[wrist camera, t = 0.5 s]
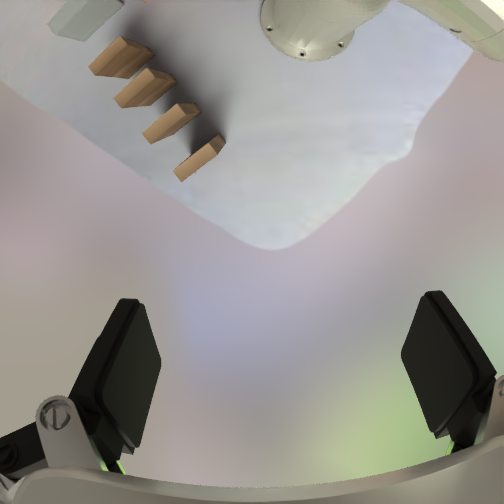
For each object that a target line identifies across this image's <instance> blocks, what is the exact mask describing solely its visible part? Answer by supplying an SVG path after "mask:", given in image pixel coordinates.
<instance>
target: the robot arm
mask: <svg viewBox="0 0 504 504" xmlns="http://www.w3.org/2000/svg"><path fill="white" fill-rule="evenodd" d="M397 1H399V2H401V3H402V4H404V5H407V6H410V7H411V8H413V9H415V10H417V11H418V12H420V13H421V14H423V15H425V16H426V17H428V18H429V19H431V20H432V21H434V22H435V23H437V24H438V25H440V26H441V27H443V28H444V29H446V30H447V31H449V32H450V33H451V34H453V35H454V36H456V37H457V38H458V39H460V40H461V41H462V42H464V43H465V44H466V45H468V46H469V47H470V48H472V49H473V50H475V51H476V52H478V53H479V54H481V55H483V56H485V57H487V58H489V59H491V60H495V61H498V62H504V0H397ZM389 2H390V0H265V1H264V2H263V5H262V9H261V25H262V29H263V31H264V33H265V35H266V37H267V38H268V40H269V41H270V42H271V44H272V45H274V46H275V47H276V48H277V49H278V50H279V51H281V52H283V53H284V54H286V55H288V56H290V57H293V58H295V59H299V60H303V61H322V60H326V59H329V58H332V57H334V56H336V55H338V54H339V53H341V52H342V51H343V50H345V49H346V48H347V46H348V45H349V44H350V42H351V40H352V38H353V35H354V30H355V29H356V28H358V27H359V26H361V25H362V24H364V23H366V22H367V21H369V20H370V19H372V18H373V17H375V16H376V15H378V14H379V13H381V12H382V11H383V10H384V9H385V8H386V7H387V5H388V4H389ZM267 29H271V31H268V30H267ZM338 44H340V45H341V47H339V46H338ZM300 53H303V54H304V56H301V55H300ZM401 359H402V361H403V364H404V366H405V368H406V371H407V373H408V375H409V378H410V381H411V383H412V385H413V388H414V390H415V393H416V395H417V398H418V401H419V403H420V406H421V408H422V411H423V414H424V417H425V419H426V422H427V425H428V427H429V430H430V431H431V432H434V435H435V438H436V439H438V438H441V437H444V436H447V435H449V434H450V437H451V441H450V444H449V446H448V449H447V451H446V454H445V456H443V457H440V458H437V459H434V460H431V461H428V462H425V463H422V464H418V465H415V466H411V467H407V468H404V469H400V470H396V471H392V472H387V473H383V474H378V475H374V476H369V477H364V478H359V479H353V480H347V481H340V482H333V483H325V484H316V485H305V486H292V487H270V488H233V487H213V486H201V485H200V486H199V485H190V484H181V483H173V482H166V481H159V480H152V479H146V478H140V477H135V476H130V475H127V474H126V472H125V471H124V469H123V467H122V465H121V463H120V462H119V460H120V456H121V452H122V453H127V454H132V455H133V453H134V449H135V448H137V447H139V446H140V443H141V439H142V435H143V431H144V427H145V423H146V419H147V416H148V412H149V408H150V405H151V401H152V397H153V393H154V390H155V386H156V383H157V379H158V376H159V372H160V369H161V358H160V355H159V352H158V349H157V345H156V342H155V339H154V336H153V333H152V330H151V326H150V323H149V320H148V317H147V313H146V310H145V306H144V304H142V303H139V301H138V300H137V299H125V298H123V299H120V300H119V302H118V303H117V305H116V307H115V309H114V311H113V312H112V314H111V316H110V318H109V320H108V322H107V324H106V325H105V327H104V329H103V331H102V333H101V335H100V336H99V337H98V338H97V340H96V342H95V343H94V345H93V347H92V349H91V351H90V353H89V355H88V357H87V359H86V361H85V363H84V365H83V367H82V369H81V371H80V373H79V375H78V377H77V380H76V382H75V384H74V386H73V388H72V390H71V392H70V394H69V397H65V396H59V395H58V396H52V397H49V398H48V399H46V400H44V401H43V402H42V403H41V404H40V406H39V408H38V409H37V412H36V421H35V422H33V423H31V424H29V425H27V426H25V427H23V428H21V429H19V430H16V431H14V432H12V433H10V434H8V435H6V436H3V437H1V438H0V504H504V375H502V376H500V377H499V378H498V379H497V380H496V379H495V377H494V376H495V375H496V373H497V372H496V370H495V368H494V367H493V365H492V363H491V362H490V360H489V358H488V357H487V355H486V354H485V352H484V350H483V349H482V347H481V346H480V344H479V343H478V341H477V340H476V338H475V337H474V335H473V334H472V332H471V330H470V329H469V328H468V326H467V325H466V323H465V322H464V320H463V319H462V317H461V316H460V315H459V313H458V312H457V310H456V309H455V307H454V306H453V305H452V303H451V302H450V301H449V299H448V298H447V297H446V295H445V294H444V293H443V292H442V291H440V290H438V291H428V292H426V293H425V295H424V296H422V297H421V299H420V302H419V304H418V307H417V310H416V313H415V316H414V319H413V321H412V324H411V327H410V330H409V333H408V335H407V338H406V340H405V343H404V345H403V348H402V350H401Z"/></svg>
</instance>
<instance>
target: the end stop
mask: <svg viewBox="0 0 504 504" xmlns="http://www.w3.org/2000/svg"><path fill="white" fill-rule="evenodd" d="M123 6H124V4H123V3H122V2H121V1H120V0H68V1H67V3H66V4H65V5H64V6H63V7H62V8H61V9H60V10H59V11H58V12H57V13H56V14H55V15H54V16H53V18H52V19H51V20H50V21H49V22H48V23H47V25H48V26H49V27H50V29H51V30H52V31H53V33H54V34H55V35H56V36H61V37H65V38H70V39H75V40H79V41H83V42H85V41H86V40H87V39H88V38H89V37H90V36H91V35H92V34H93V33H94V32H95V31H96V30H97V29H98V28H99V27H100V26H101V25H103V24H104V23H105V22H106V21H107V20H108V19H109V18H110V17H111V16H112V15H113V14H115V13H116V12H117V11H118V10H119V9H120V8H121V7H123Z"/></svg>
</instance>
